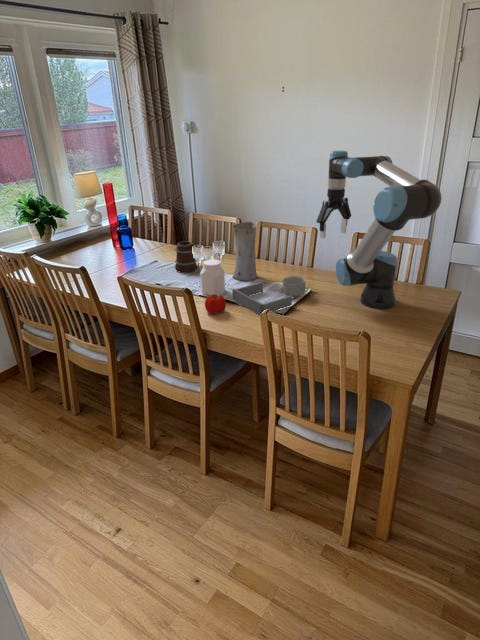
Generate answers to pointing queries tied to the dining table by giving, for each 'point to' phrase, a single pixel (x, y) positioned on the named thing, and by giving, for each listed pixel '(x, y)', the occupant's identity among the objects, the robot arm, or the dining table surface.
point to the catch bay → (243, 298)
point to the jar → (212, 278)
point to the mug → (185, 257)
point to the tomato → (215, 304)
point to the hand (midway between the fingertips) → (333, 235)
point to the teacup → (294, 286)
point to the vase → (245, 251)
